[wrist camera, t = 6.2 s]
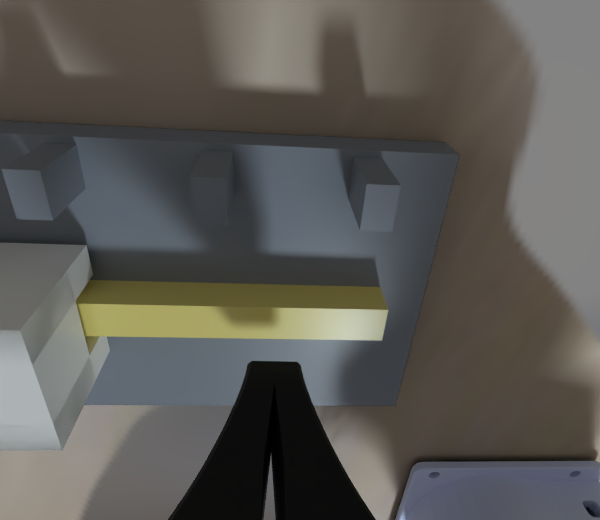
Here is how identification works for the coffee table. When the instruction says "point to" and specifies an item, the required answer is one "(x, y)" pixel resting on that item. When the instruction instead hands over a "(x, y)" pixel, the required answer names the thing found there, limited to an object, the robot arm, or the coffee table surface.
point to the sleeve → (44, 344)
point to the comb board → (234, 252)
